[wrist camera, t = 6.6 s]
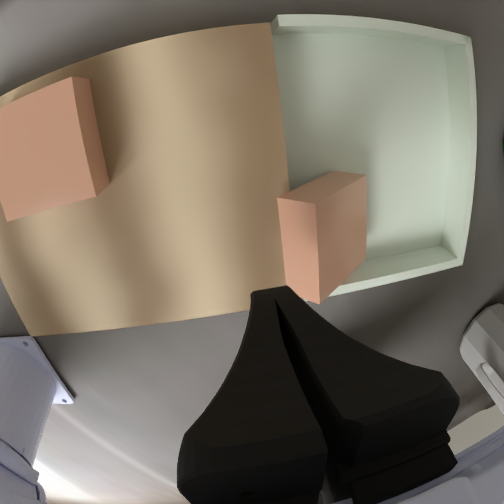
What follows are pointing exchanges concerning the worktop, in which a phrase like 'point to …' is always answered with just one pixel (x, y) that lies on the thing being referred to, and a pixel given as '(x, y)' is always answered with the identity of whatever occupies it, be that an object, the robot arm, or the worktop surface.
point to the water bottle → (487, 350)
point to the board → (162, 190)
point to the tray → (384, 132)
